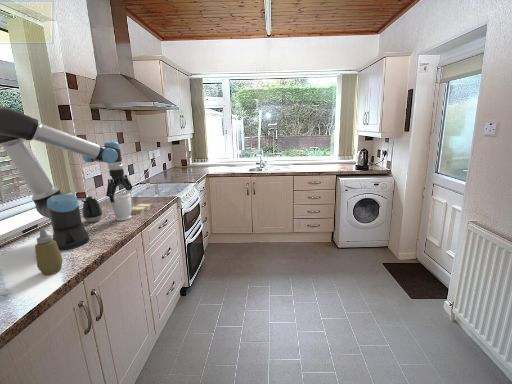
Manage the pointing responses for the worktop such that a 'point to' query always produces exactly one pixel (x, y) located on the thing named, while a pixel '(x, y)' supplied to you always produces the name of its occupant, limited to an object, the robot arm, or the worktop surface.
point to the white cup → (122, 206)
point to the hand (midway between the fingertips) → (122, 203)
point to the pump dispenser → (91, 209)
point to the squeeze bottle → (47, 254)
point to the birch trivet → (141, 208)
